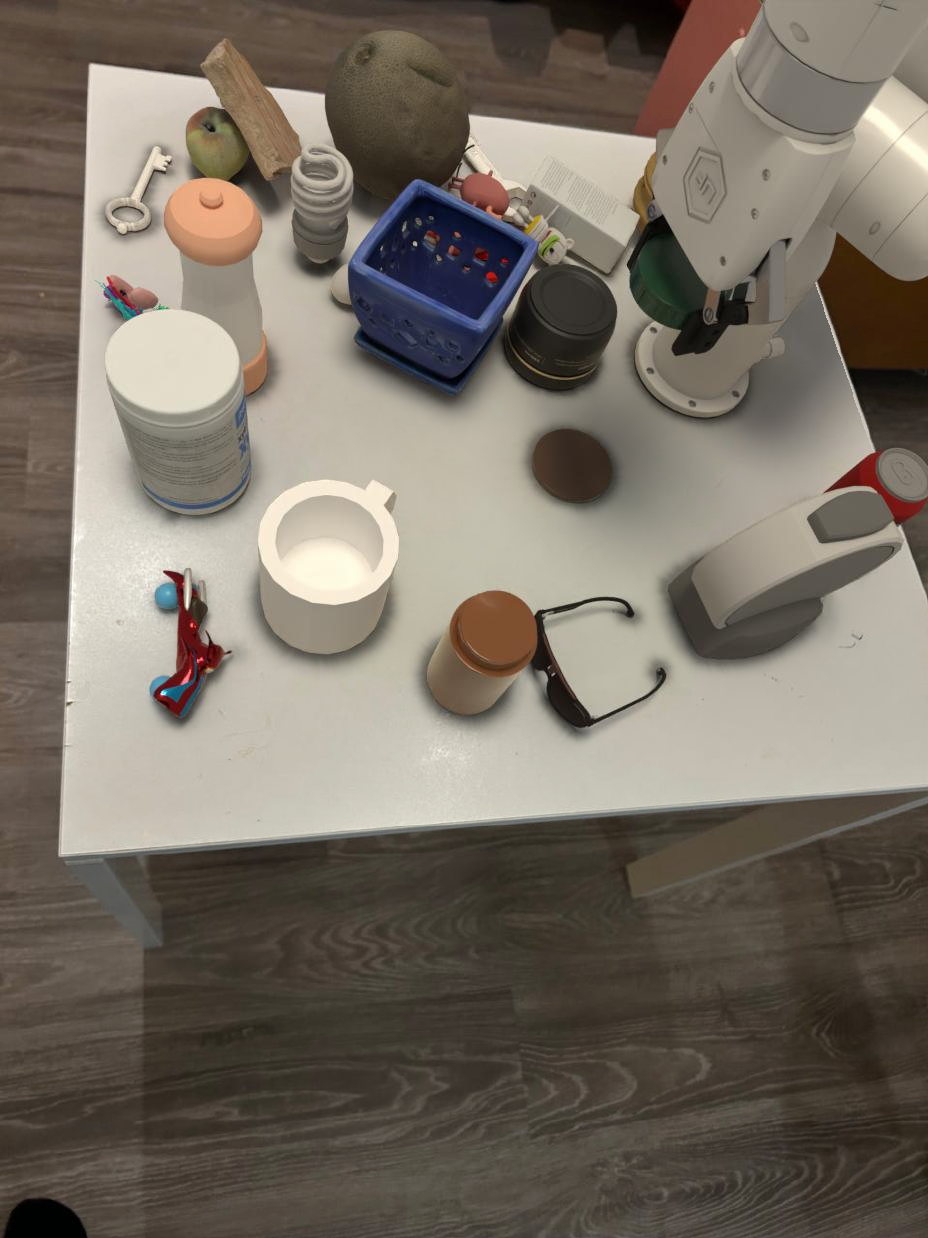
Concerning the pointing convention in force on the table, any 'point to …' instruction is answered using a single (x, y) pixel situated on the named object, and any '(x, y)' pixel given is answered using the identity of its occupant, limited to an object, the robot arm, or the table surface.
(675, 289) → the lid
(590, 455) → the coaster
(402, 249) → the flower pot
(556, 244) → the toy
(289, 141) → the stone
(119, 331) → the supplement tub
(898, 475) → the beverage can
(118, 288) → the anatomy model
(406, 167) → the cantaloupe
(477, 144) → the wrench
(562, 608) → the sunglasses
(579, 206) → the cosmetic box
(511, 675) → the jam jar
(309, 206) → the light bulb
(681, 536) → the table surface
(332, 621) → the mug
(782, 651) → the table surface
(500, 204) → the figurine
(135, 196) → the key
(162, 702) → the hoverbike
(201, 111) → the apple
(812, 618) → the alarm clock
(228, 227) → the salt shaker
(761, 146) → the robot arm
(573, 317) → the jar
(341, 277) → the egg
